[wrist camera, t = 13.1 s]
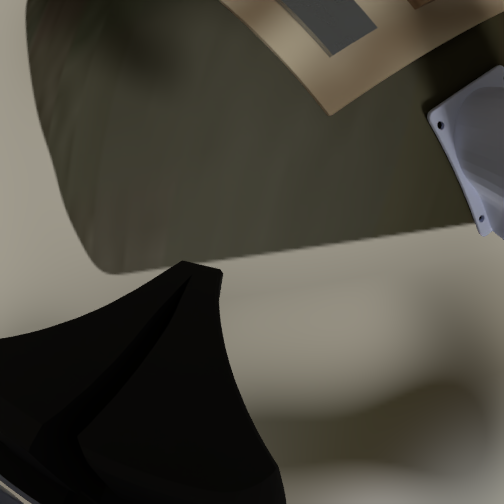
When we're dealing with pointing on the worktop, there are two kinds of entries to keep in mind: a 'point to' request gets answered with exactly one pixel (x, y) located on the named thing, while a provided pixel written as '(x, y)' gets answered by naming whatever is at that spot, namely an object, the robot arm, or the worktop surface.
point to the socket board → (361, 41)
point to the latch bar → (330, 21)
